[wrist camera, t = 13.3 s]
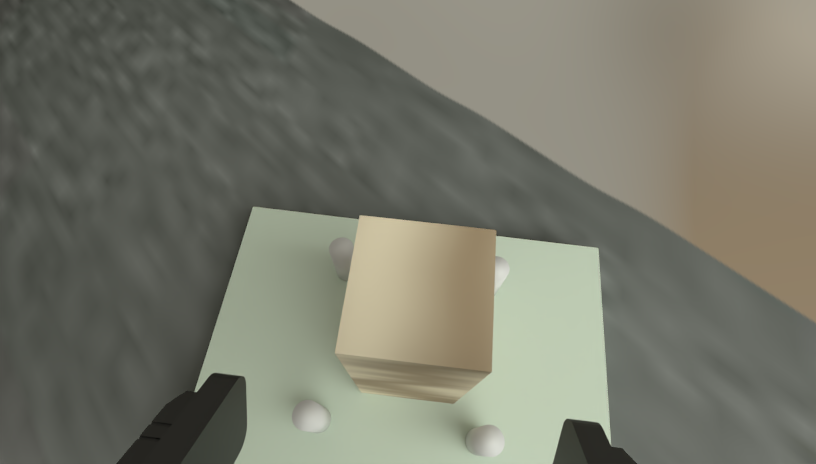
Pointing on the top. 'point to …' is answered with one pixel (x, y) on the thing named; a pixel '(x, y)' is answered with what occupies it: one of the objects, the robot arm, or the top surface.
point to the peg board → (394, 416)
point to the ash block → (418, 309)
